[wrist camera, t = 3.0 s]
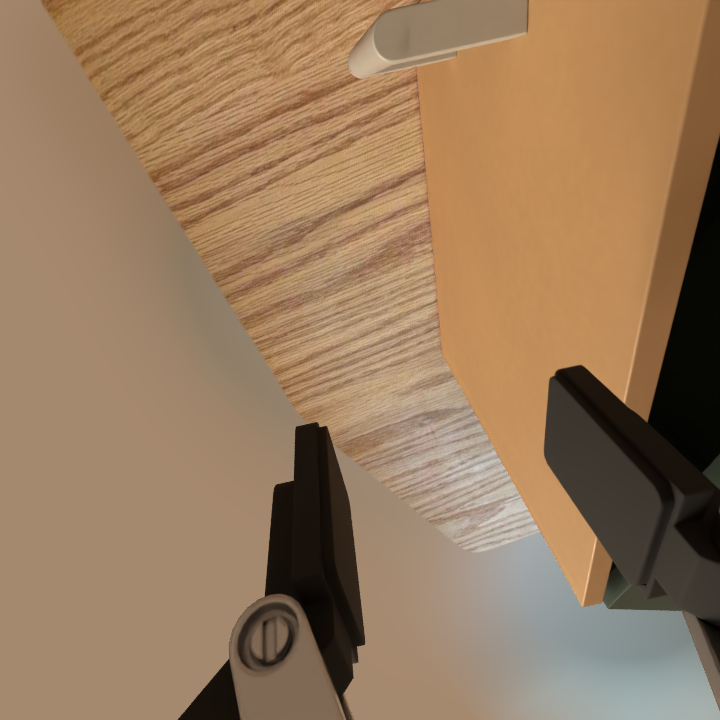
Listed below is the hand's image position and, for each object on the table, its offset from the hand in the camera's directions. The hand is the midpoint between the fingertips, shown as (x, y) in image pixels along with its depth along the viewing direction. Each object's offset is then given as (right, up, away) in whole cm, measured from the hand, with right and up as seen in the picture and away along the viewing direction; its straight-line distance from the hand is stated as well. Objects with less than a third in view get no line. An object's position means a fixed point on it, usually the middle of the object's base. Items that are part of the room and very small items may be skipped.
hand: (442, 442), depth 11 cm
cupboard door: (+1, +13, +22) cm, 26 cm away
